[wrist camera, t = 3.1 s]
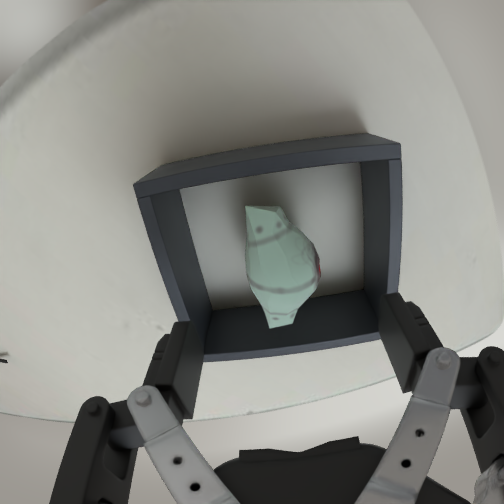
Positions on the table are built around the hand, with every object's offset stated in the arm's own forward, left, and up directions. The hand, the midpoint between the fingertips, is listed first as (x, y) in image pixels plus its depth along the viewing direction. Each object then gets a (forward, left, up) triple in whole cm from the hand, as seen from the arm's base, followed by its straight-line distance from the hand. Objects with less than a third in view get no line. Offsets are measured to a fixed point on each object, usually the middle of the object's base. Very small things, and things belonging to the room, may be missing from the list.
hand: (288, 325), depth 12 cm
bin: (0, 0, -10) cm, 10 cm away
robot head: (0, 0, -10) cm, 10 cm away
